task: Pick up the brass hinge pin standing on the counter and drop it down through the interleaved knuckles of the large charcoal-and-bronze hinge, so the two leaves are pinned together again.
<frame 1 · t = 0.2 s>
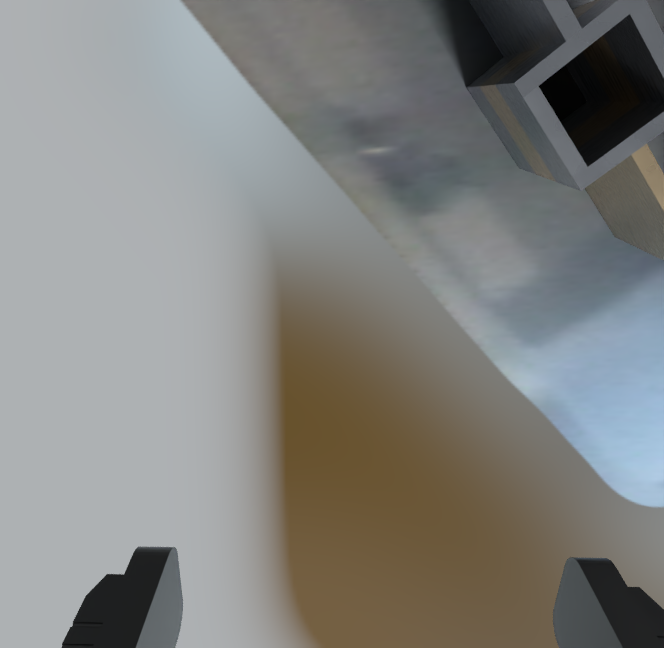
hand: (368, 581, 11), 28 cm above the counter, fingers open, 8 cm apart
hinge: (535, 95, 34), on the counter
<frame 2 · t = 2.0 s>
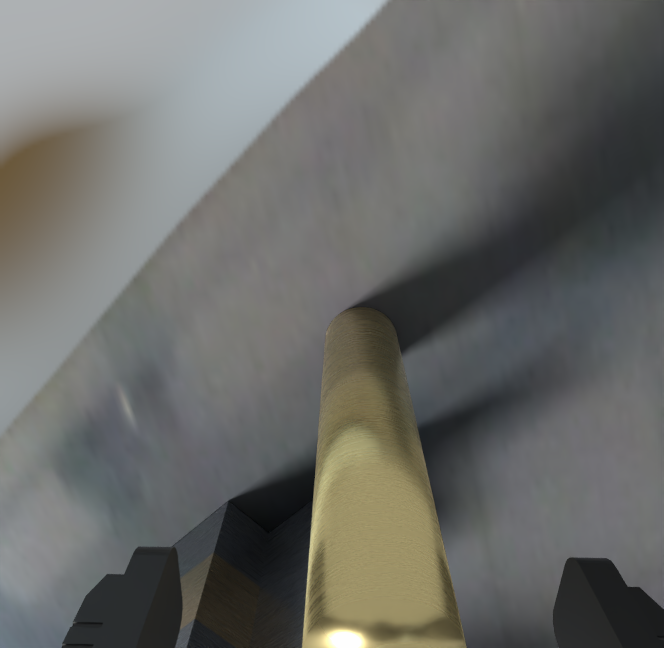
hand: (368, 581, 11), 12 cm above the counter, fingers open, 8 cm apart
hinge pin: (361, 340, 23), on the counter
hinge: (232, 569, 28), on the counter
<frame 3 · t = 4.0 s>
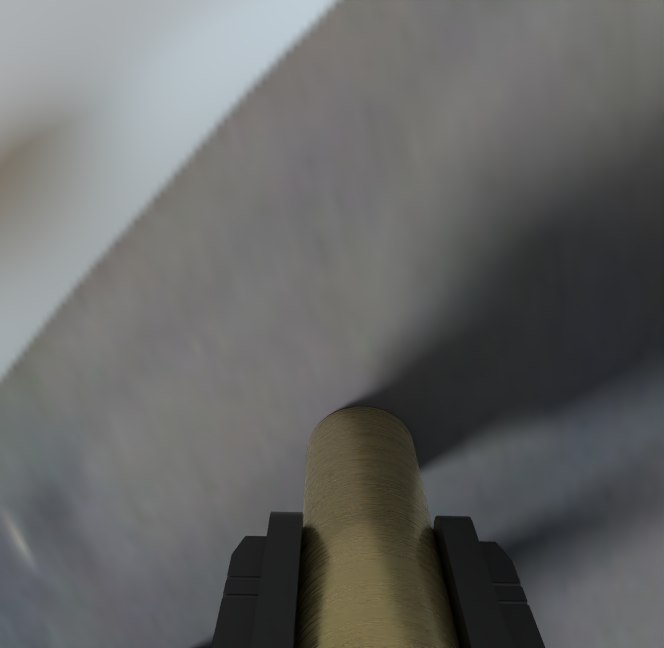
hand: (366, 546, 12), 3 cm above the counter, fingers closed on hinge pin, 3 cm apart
hinge pin: (360, 452, 15), on the counter, touching gripper
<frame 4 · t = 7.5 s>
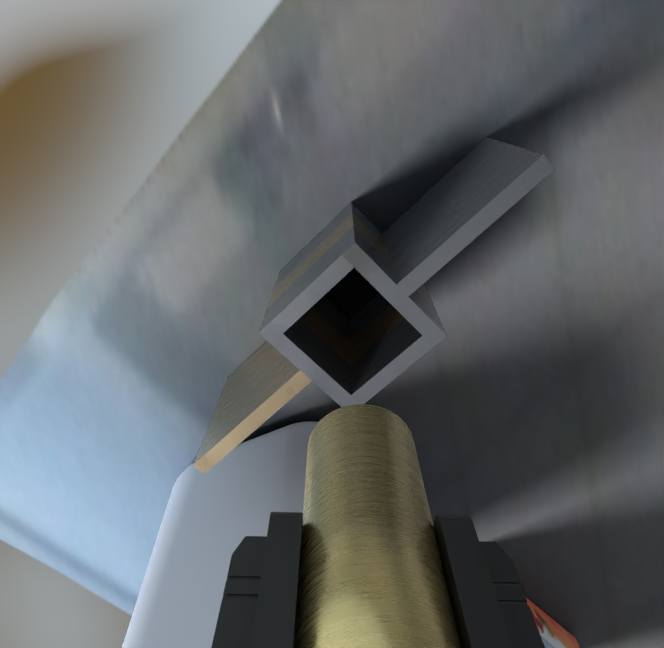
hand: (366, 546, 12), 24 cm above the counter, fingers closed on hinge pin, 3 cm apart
plastic bottle: (292, 507, 42), on the counter
hinge pin: (360, 450, 15), point 20 cm above the counter, touching gripper
cracker box: (497, 606, 46), on the counter
hinge: (349, 272, 34), on the counter
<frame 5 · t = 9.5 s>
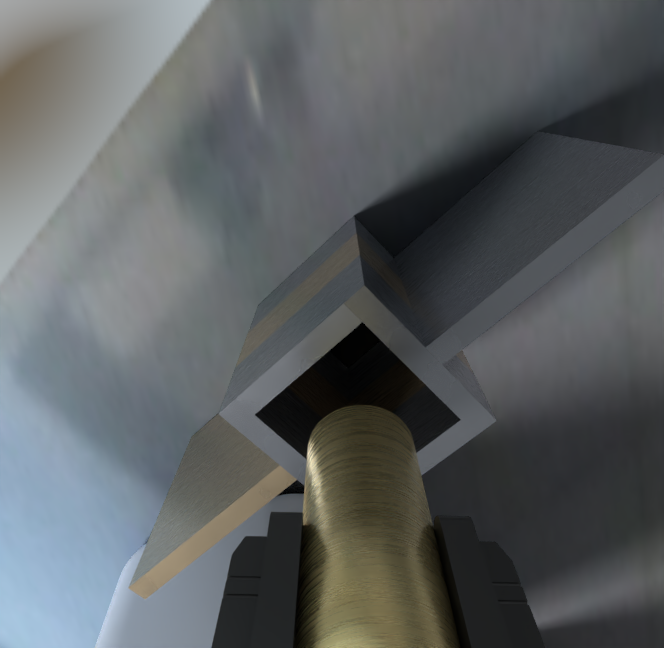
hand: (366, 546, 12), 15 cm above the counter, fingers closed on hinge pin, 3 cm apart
plastic bottle: (273, 592, 34), on the counter
hinge pin: (360, 450, 15), point 12 cm above the counter, touching gripper
hinge: (350, 307, 26), on the counter
when the fingers open (11 cm above the counter, at t = 11.2 s): hinge pin drops 8 cm, resting in hinge.
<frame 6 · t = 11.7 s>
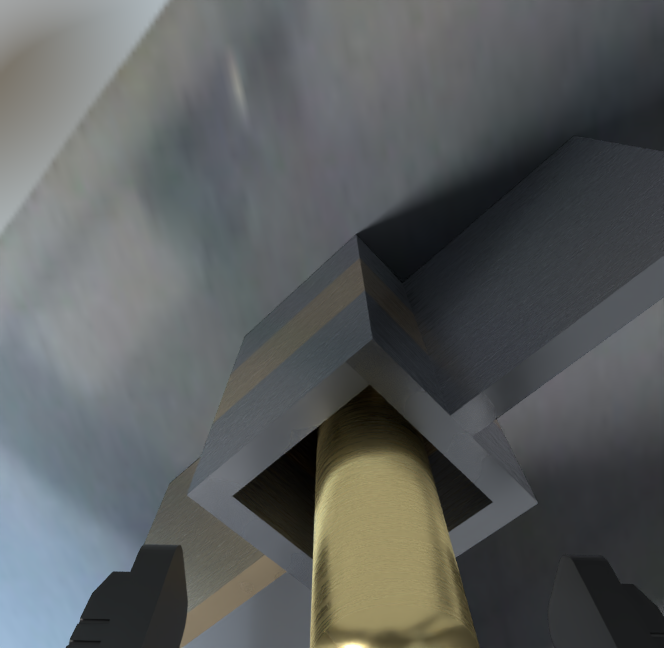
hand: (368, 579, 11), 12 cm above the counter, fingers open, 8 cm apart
hinge pin: (357, 338, 22), resting in hinge
hinge: (351, 339, 22), on the counter
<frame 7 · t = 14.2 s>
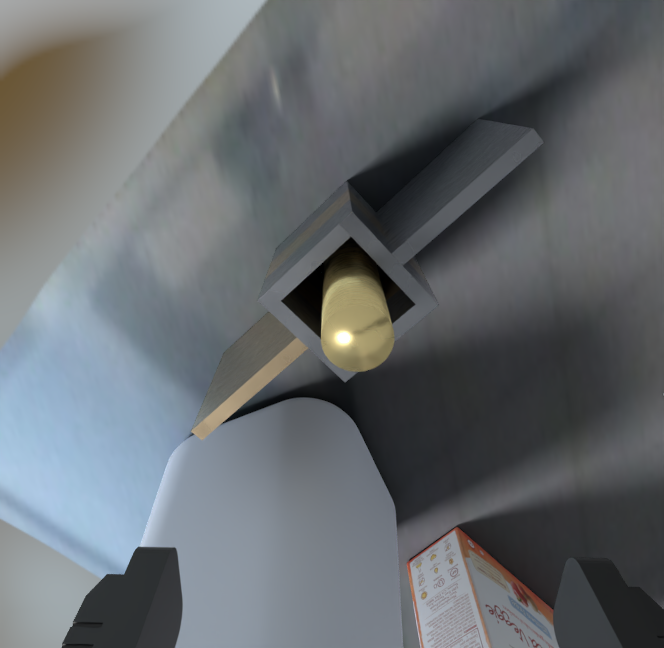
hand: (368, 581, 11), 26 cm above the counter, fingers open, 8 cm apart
plastic bottle: (284, 484, 43), on the counter
hinge pin: (348, 249, 35), resting in hinge
cracker box: (484, 583, 47), on the counter
hinge: (344, 250, 35), on the counter
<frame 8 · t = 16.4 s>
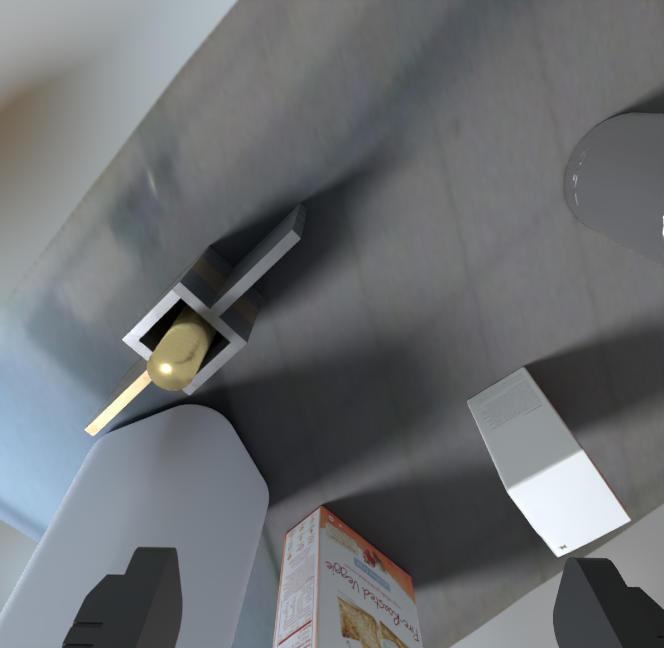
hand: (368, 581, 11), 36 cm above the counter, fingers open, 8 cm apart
plastic bottle: (184, 471, 55), on the counter
small box: (515, 410, 52), on the counter
hinge pin: (215, 294, 47), resting in hinge
cracker box: (349, 551, 59), on the counter
hinge: (212, 295, 47), on the counter
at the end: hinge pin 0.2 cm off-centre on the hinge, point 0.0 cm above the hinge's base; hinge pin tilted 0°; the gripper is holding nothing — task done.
